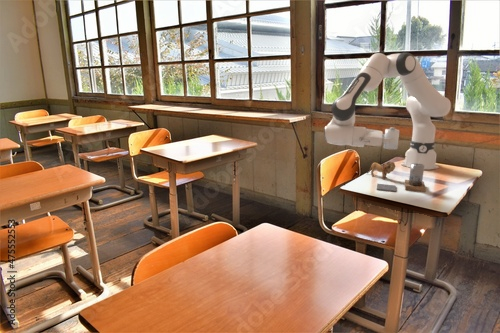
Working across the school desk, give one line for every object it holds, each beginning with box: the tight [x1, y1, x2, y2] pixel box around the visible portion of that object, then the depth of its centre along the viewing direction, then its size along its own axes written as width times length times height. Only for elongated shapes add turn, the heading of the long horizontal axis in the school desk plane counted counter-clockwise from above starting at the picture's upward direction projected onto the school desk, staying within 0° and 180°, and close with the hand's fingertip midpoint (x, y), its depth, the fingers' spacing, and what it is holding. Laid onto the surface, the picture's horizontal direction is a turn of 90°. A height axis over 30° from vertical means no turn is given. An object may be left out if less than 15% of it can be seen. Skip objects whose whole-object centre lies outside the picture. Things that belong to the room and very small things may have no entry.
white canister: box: [383, 126, 401, 150], centre depth 165 cm, size 6×6×9 cm
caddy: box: [404, 179, 427, 193], centre depth 172 cm, size 10×8×4 cm
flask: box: [408, 164, 425, 186], centre depth 169 cm, size 5×5×9 cm
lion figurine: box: [365, 160, 397, 180], centre depth 188 cm, size 15×5×9 cm, turn 44°
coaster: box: [376, 183, 397, 193], centre depth 171 cm, size 8×8×1 cm
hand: (393, 139), depth 165 cm, fingers closed on white canister, 6 cm apart
